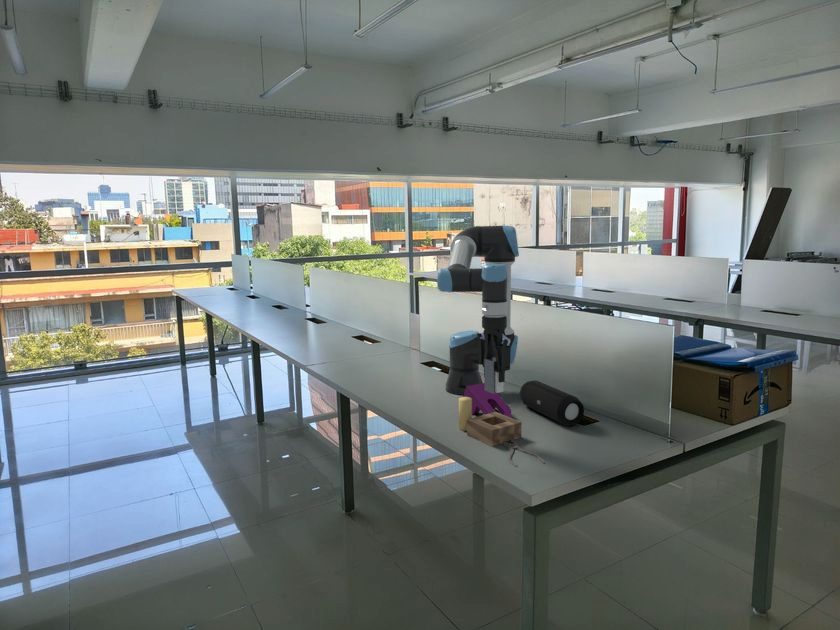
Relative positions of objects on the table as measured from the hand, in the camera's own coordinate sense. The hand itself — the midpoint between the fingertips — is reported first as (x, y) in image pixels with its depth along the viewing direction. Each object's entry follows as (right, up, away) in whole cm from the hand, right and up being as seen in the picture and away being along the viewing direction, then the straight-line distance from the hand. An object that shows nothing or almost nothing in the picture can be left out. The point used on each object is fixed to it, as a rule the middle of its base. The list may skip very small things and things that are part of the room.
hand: (494, 389), depth 176 cm
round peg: (-8, -14, +9) cm, 19 cm away
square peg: (0, 0, 0) cm, 0 cm away
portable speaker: (+22, -12, +20) cm, 32 cm away
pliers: (+4, -18, -11) cm, 21 cm away
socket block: (0, -15, +2) cm, 15 cm away
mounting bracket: (+1, -12, +22) cm, 25 cm away
